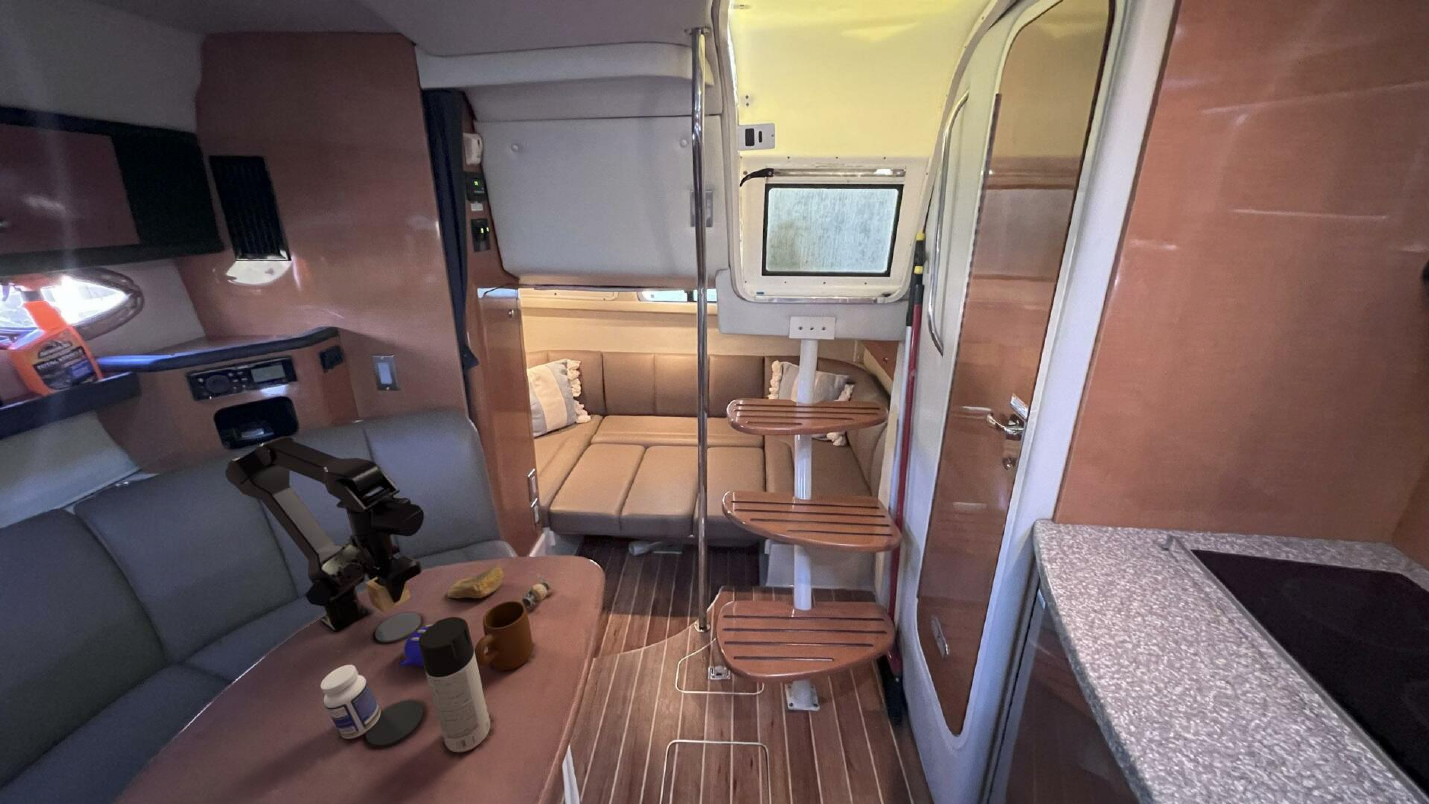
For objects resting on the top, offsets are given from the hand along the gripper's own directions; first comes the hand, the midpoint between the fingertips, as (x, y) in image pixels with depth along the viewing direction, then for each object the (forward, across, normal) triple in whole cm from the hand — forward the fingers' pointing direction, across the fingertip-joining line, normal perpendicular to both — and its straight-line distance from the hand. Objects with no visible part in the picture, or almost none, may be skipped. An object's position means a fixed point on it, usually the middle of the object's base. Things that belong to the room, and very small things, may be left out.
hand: (389, 597), depth 104 cm
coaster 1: (+8, 0, 0) cm, 8 cm away
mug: (+8, +27, +5) cm, 29 cm away
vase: (+3, +20, +22) cm, 30 cm away
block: (+1, 0, 0) cm, 1 cm away
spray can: (+8, +34, -7) cm, 36 cm away
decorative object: (+8, +14, -1) cm, 16 cm away
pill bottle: (+7, +18, -15) cm, 24 cm away
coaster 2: (+7, +22, -12) cm, 26 cm away
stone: (+4, +9, +16) cm, 19 cm away
